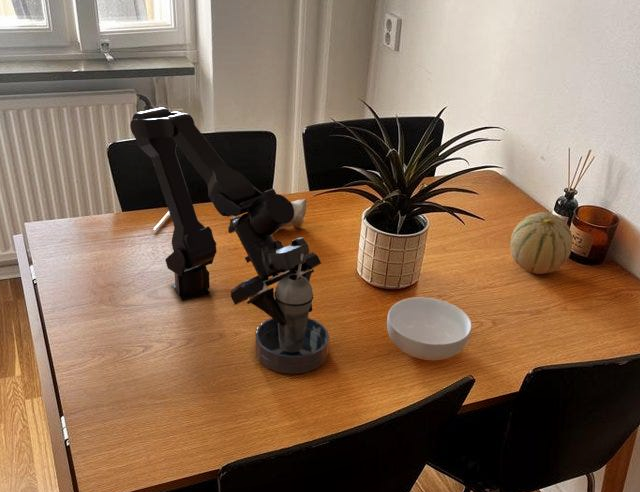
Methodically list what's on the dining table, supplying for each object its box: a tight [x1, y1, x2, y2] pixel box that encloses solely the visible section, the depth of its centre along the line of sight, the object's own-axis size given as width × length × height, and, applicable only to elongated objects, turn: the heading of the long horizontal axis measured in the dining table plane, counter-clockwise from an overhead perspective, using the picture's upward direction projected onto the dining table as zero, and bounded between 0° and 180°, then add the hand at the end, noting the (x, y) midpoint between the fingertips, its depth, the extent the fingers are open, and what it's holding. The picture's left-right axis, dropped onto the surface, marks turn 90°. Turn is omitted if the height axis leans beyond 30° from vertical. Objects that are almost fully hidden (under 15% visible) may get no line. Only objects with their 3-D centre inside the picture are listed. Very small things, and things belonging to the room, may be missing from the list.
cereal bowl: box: [386, 296, 473, 361], centre depth 141 cm, size 17×17×7 cm
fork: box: [152, 210, 171, 233], centre depth 182 cm, size 3×20×2 cm, turn 170°
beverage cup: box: [274, 254, 314, 352], centre depth 131 cm, size 7×7×20 cm
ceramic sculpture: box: [280, 198, 307, 230], centre depth 180 cm, size 11×9×15 cm
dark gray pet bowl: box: [254, 317, 330, 375], centre depth 136 cm, size 14×14×4 cm
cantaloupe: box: [509, 211, 573, 275], centre depth 170 cm, size 15×15×15 cm
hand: (297, 318), depth 132 cm, fingers closed on beverage cup, 6 cm apart
